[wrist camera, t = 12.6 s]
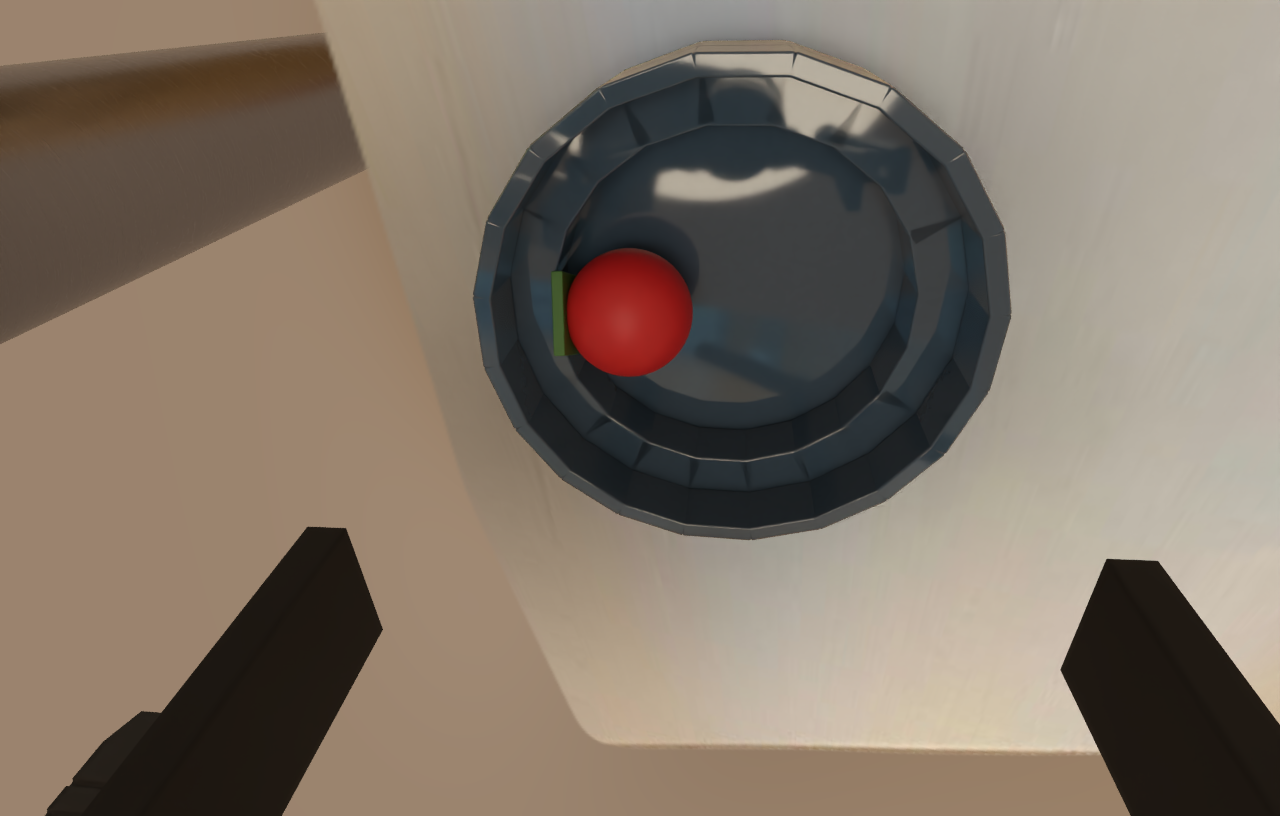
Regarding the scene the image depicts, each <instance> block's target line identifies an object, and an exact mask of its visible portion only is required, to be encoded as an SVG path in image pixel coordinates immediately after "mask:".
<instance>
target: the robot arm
mask: <svg viewBox="0 0 1280 816" xmlns="http://www.w3.org/2000/svg"><path fill="white" fill-rule="evenodd" d="M382 630H383V629H382V626H381V623H380V620H379V618H378V615H377V612H376V609H375V607H374V604H373V601H372V599H371V596H370V593H369V590H368V588H367V585H366V582H365V580H364V576H363V574H362V571H361V568H360V565H359V563H358V560H357V557H356V554H355V552H354V549H353V546H352V544H351V541H350V538H349V536H348V532H347V530H346V528H326V527H307V528H306V530H305V531H304V532H303V533H302V535H301V536H300V537H299V539H298V540H297V541H296V542H295V543H294V545H293V546H292V547H291V549H290V550H289V551H288V552H287V554H286V555H285V556H284V558H283V559H282V560H281V561H280V563H279V564H278V565H277V566H276V568H275V569H274V570H273V571H272V573H271V574H270V576H269V577H268V578H267V579H266V580H265V582H264V583H263V584H262V585H261V587H260V588H259V589H258V591H257V592H256V593H255V594H254V596H253V597H252V598H251V599H250V601H249V602H248V603H247V605H246V606H245V607H244V608H243V610H242V611H241V612H240V613H239V615H238V616H237V617H236V619H235V620H234V621H233V622H232V624H231V625H230V626H229V628H228V629H227V630H226V631H225V633H224V634H223V635H222V636H221V638H220V639H219V640H218V641H217V643H216V644H215V645H214V647H213V648H212V649H211V650H210V652H209V653H208V654H207V656H206V657H205V658H204V659H203V661H202V662H201V663H200V664H199V666H198V667H197V668H196V669H195V671H194V672H193V673H192V674H191V676H190V677H189V678H188V680H187V681H186V682H185V683H184V685H183V686H182V687H181V688H180V690H179V691H178V692H177V694H176V695H175V696H174V697H173V699H172V700H171V701H170V702H169V704H168V705H167V706H166V708H165V709H164V710H163V711H162V713H157V712H144V711H141V712H140V713H139V714H137V715H136V716H135V717H134V718H132V719H131V720H130V721H129V722H127V723H126V724H125V725H124V726H122V727H121V728H120V729H119V730H117V731H116V732H115V733H114V734H112V735H111V736H110V737H109V738H107V739H106V740H105V741H104V742H103V743H102V744H101V745H100V746H99V747H98V749H97V750H96V751H95V752H94V753H93V755H92V756H91V757H90V758H89V759H88V761H87V762H86V763H85V764H84V765H83V767H82V768H81V769H80V770H79V771H78V773H77V774H76V775H75V776H74V777H73V782H72V784H71V785H70V786H66V787H65V788H64V789H63V791H62V792H61V793H60V794H59V795H58V797H57V798H56V799H55V800H54V801H53V803H52V804H51V805H50V806H49V807H48V809H47V814H46V815H45V816H282V814H283V812H284V811H285V809H286V807H287V805H288V803H289V801H290V800H291V798H292V795H293V794H294V792H295V790H296V789H297V787H298V785H299V783H300V781H301V779H302V777H303V776H304V774H305V772H306V770H307V768H308V766H309V764H310V763H311V761H312V759H313V757H314V755H315V754H316V752H317V750H318V748H319V746H320V744H321V742H322V740H323V739H324V737H325V735H326V733H327V731H328V730H329V727H330V726H331V724H332V722H333V720H334V719H335V716H336V715H337V713H338V711H339V709H340V707H341V706H342V704H343V702H344V700H345V698H346V696H347V695H348V693H349V690H350V689H351V687H352V685H353V684H354V682H355V680H356V678H357V676H358V674H359V672H360V671H361V669H362V667H363V665H364V663H365V661H366V659H367V658H368V656H369V654H370V652H371V650H372V648H373V647H374V645H375V643H376V641H377V639H378V637H379V636H380V634H381V632H382ZM1061 672H1062V674H1063V676H1064V678H1065V680H1066V682H1067V684H1068V687H1069V689H1070V691H1071V693H1072V695H1073V697H1074V699H1075V701H1076V703H1077V705H1078V707H1079V709H1080V711H1081V714H1082V716H1083V718H1084V720H1085V722H1086V724H1087V726H1088V728H1089V730H1090V732H1091V734H1092V736H1093V738H1094V741H1095V743H1096V745H1097V747H1098V749H1099V751H1100V753H1101V755H1102V757H1103V759H1104V761H1105V763H1106V765H1107V767H1108V770H1109V771H1110V774H1111V776H1112V778H1113V780H1114V782H1115V784H1116V786H1117V788H1118V790H1119V792H1120V794H1121V797H1122V798H1123V801H1124V802H1125V805H1126V807H1127V809H1128V811H1129V813H1130V815H1131V816H1280V724H1279V723H1278V722H1277V720H1276V719H1275V718H1274V716H1273V715H1272V714H1271V712H1270V711H1269V710H1268V708H1267V707H1266V706H1265V704H1264V703H1263V702H1262V700H1261V699H1260V698H1259V696H1258V695H1257V694H1256V692H1255V691H1254V690H1253V688H1252V687H1251V685H1250V684H1249V683H1248V681H1247V680H1246V679H1245V677H1244V676H1243V675H1242V673H1241V672H1240V671H1239V669H1238V668H1237V667H1236V665H1235V664H1234V663H1233V661H1232V660H1231V659H1230V657H1229V656H1228V655H1227V653H1226V652H1225V651H1224V649H1223V648H1222V646H1221V645H1220V644H1219V642H1218V641H1217V640H1216V638H1215V637H1214V636H1213V634H1212V633H1211V632H1210V630H1209V629H1208V628H1207V626H1206V625H1205V624H1204V622H1203V621H1202V620H1201V618H1200V617H1199V616H1198V614H1197V613H1196V612H1195V610H1194V609H1193V607H1192V606H1191V605H1190V603H1189V602H1188V601H1187V599H1186V598H1185V597H1184V595H1183V594H1182V593H1181V591H1180V590H1179V589H1178V587H1177V586H1176V585H1175V583H1174V582H1173V581H1172V579H1171V578H1170V577H1169V575H1168V574H1167V573H1166V571H1165V570H1164V568H1163V567H1162V566H1161V564H1160V563H1159V562H1158V561H1145V560H1121V559H1106V562H1105V564H1104V566H1103V569H1102V571H1101V574H1100V576H1099V578H1098V581H1097V583H1096V586H1095V588H1094V590H1093V593H1092V595H1091V598H1090V600H1089V602H1088V605H1087V607H1086V610H1085V612H1084V614H1083V617H1082V619H1081V622H1080V624H1079V626H1078V629H1077V631H1076V634H1075V636H1074V638H1073V641H1072V643H1071V646H1070V648H1069V650H1068V653H1067V655H1066V658H1065V660H1064V662H1063V665H1062V667H1061Z"/></svg>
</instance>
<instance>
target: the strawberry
mask: <svg viewBox="0 0 1280 816" xmlns="http://www.w3.org/2000/svg"><path fill="white" fill-rule="evenodd" d="M551 289H552V318H553V347H554V356H568V355H575V354H581V355H582V356H583V357H584V358H585V359H586V360H587V361H588V362H589V363H590V364H592V365H593V366H595V367H596V368H598V369H600V370H602V371H604V372H606V373H609V374H612V375H617V376H626V377H633V376H641V375H646V374H649V373H652V372H654V371H656V370H658V369H660V368H662V367H664V366H665V365H666V364H668V363H669V362H670V361H671V360H672V359H673V358H675V357H676V355H677V354H678V353H679V352H680V351H681V349H682V347H683V346H684V344H685V342H686V340H687V338H688V336H689V333H690V330H691V325H692V319H693V306H692V300H691V295H690V292H689V289H688V287H687V285H686V283H685V281H684V279H683V278H682V276H681V275H680V273H679V272H678V271H677V270H676V268H675V267H674V266H673V265H672V264H670V263H669V262H668V261H667V260H665V259H664V258H662V257H661V256H659V255H657V254H654V253H652V252H649V251H646V250H643V249H637V248H621V249H615V250H611V251H608V252H606V253H603V254H601V255H599V256H597V257H596V258H594V259H592V260H591V261H590V262H589V263H587V264H586V265H585V266H584V267H583V268H582V269H581V270H580V272H579V273H578V274H577V276H576V275H573V274H570V273H567V272H563V271H552V272H551Z"/></svg>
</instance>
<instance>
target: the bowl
mask: <svg viewBox="0 0 1280 816" xmlns="http://www.w3.org/2000/svg"><path fill="white" fill-rule="evenodd" d="M621 248H637V249H643V250H646V251H649V252H652V253H654V254H657V255H659V256H661V257H662V258H664V259H665V260H667V261H668V262H669V263H670V264H672V265H673V266H674V267H675V268H676V270H677V271H678V272H679V273H680V275H681V276H682V278H683V279H684V281H685V283H686V285H687V287H688V289H689V292H690V295H691V300H692V306H693V319H692V325H691V330H690V333H689V336H688V338H687V340H686V342H685V344H684V346H683V347H682V349H681V351H680V352H679V353H678V354H677V355H676V357H675V358H673V359H672V360H671V361H670V362H669V363H668V364H666V365H665V366H664V367H662V368H660V369H658V370H656V371H654V372H652V373H649V374H646V375H641V376H633V377H626V376H617V375H612V374H609V373H606V372H604V371H602V370H600V369H598V368H596V367H595V366H593V365H592V364H590V363H589V362H588V361H587V360H586V359H585V358H584V357H583V356H582V355H581V354H575V355H568V356H554V347H553V318H552V289H551V272H552V271H563V272H567V273H570V274H573V275H576V276H577V274H578V273H579V272H580V270H581V269H582V268H583V267H584V266H585V265H586V264H587V263H589V262H590V261H591V260H592V259H594V258H596V257H597V256H599V255H601V254H603V253H606V252H608V251H611V250H615V249H621ZM473 295H474V296H473V300H474V306H475V313H476V319H477V326H478V332H479V339H480V345H481V352H482V358H483V365H484V367H485V371H486V373H487V375H488V377H489V379H490V381H491V383H492V385H493V387H494V389H495V391H496V393H497V395H498V397H499V399H500V401H501V403H502V405H503V407H504V409H505V411H506V413H507V415H508V417H509V419H510V421H511V423H512V425H513V427H514V428H515V429H516V431H517V432H518V433H519V434H520V435H521V436H522V438H523V439H524V440H525V441H526V442H527V443H528V444H529V445H530V446H531V447H532V448H533V449H534V450H535V452H536V453H537V454H538V455H539V456H540V457H541V458H542V459H543V460H544V461H545V462H546V463H547V464H548V465H549V467H550V468H551V469H552V470H553V471H554V472H555V473H556V474H557V475H558V476H559V477H560V478H562V480H563V481H565V482H567V483H568V484H570V485H572V486H573V487H575V488H576V489H578V490H580V491H581V492H583V493H584V494H586V495H588V496H589V497H591V498H592V499H594V500H596V501H597V502H599V503H600V504H602V505H604V506H605V507H607V508H608V509H610V510H612V511H613V512H615V513H616V514H618V513H619V515H621V516H624V517H627V518H631V519H634V520H637V521H640V522H643V523H646V524H649V525H652V526H655V527H658V528H662V529H665V530H668V531H671V532H674V533H677V534H680V535H682V534H683V535H687V536H700V537H714V538H727V539H740V540H751V539H752V540H756V539H762V538H768V537H775V536H781V535H787V534H793V533H799V532H805V531H811V530H818V529H822V528H825V527H827V526H829V525H832V524H834V523H836V522H839V521H841V520H843V519H846V518H848V517H850V516H853V515H855V514H857V513H860V512H862V511H864V510H867V509H869V508H871V507H874V506H876V505H878V504H881V503H883V502H885V501H886V500H888V499H889V498H891V497H892V496H893V495H894V494H896V493H897V492H898V491H899V490H901V489H902V488H903V487H905V486H906V485H907V484H908V483H910V482H911V481H912V480H913V479H915V478H916V477H917V476H918V475H920V474H921V473H922V472H924V471H925V470H926V469H927V468H929V467H930V466H931V465H932V464H934V463H935V462H936V461H937V460H939V459H940V458H941V457H943V456H944V454H945V453H946V452H947V451H948V450H949V448H950V447H951V445H952V444H953V442H954V441H955V440H956V438H957V437H958V435H959V434H960V432H961V431H962V430H963V428H964V427H965V425H966V424H967V422H968V421H969V420H970V418H971V417H972V415H973V414H974V412H975V411H976V410H977V408H978V407H979V405H980V404H981V402H982V401H983V400H984V398H985V397H986V395H987V394H988V391H989V390H990V387H991V384H992V381H993V377H994V374H995V370H996V367H997V363H998V360H999V357H1000V353H1001V350H1002V346H1003V343H1004V339H1005V336H1006V333H1007V329H1008V326H1009V322H1010V319H1011V299H1010V286H1009V273H1008V261H1007V248H1006V235H1005V231H1004V227H1003V225H1002V223H1001V221H1000V219H999V217H998V215H997V213H996V211H995V209H994V207H993V205H992V203H991V201H990V199H989V197H988V195H987V193H986V191H985V189H984V187H983V185H982V183H981V181H980V179H979V177H978V175H977V173H976V171H975V169H974V167H973V165H972V163H971V161H970V159H969V157H968V155H967V153H966V151H964V150H963V147H961V146H960V145H959V144H958V143H957V142H956V141H955V140H954V139H952V138H951V137H950V136H949V135H948V134H947V133H946V132H944V131H943V130H942V129H941V128H940V127H939V126H938V125H936V124H935V123H934V122H933V121H932V120H931V119H930V118H928V117H927V116H926V115H925V114H924V113H923V112H922V111H921V110H919V109H918V108H917V107H916V106H915V105H914V104H913V103H911V102H910V101H909V100H908V99H907V98H906V97H905V96H903V95H902V94H901V93H900V92H899V91H898V90H897V89H896V88H894V87H893V86H891V85H890V84H888V83H887V82H885V81H884V80H882V79H880V78H879V77H877V76H876V75H874V74H873V73H871V72H870V71H868V70H866V69H865V68H862V67H860V66H857V65H854V64H851V63H849V62H846V61H843V60H840V59H838V58H835V57H832V56H829V55H827V54H824V53H821V52H818V51H816V50H813V49H810V48H807V47H805V46H802V45H799V44H796V43H794V42H791V41H786V40H737V41H702V42H697V43H695V44H692V45H689V46H686V47H684V48H681V49H678V50H676V51H673V52H670V53H668V54H665V55H662V56H660V57H657V58H654V59H652V60H649V61H646V62H644V63H641V64H638V65H636V66H633V67H630V68H628V69H625V70H624V71H622V72H620V73H619V74H618V75H616V76H615V77H613V78H612V79H610V80H609V81H607V82H606V83H604V84H603V85H601V86H600V87H598V88H597V89H596V90H595V91H593V92H592V93H591V94H590V95H589V96H587V97H586V98H585V99H584V100H583V101H582V102H580V103H579V104H578V105H577V106H576V107H574V108H573V109H572V110H571V111H570V112H569V113H567V114H566V115H565V116H564V117H563V118H561V119H560V120H559V121H558V122H557V123H555V124H554V125H553V126H552V127H551V128H550V129H548V130H547V131H546V132H545V133H544V134H542V135H541V136H540V137H539V138H538V139H537V140H535V141H534V142H533V143H532V144H531V145H530V147H529V148H527V150H526V152H525V153H524V155H523V157H522V159H521V160H520V162H519V164H518V166H517V167H516V169H515V171H514V173H513V174H512V176H511V178H510V180H509V181H508V183H507V185H506V186H505V188H504V190H503V192H502V193H501V195H500V197H499V199H498V200H497V202H496V204H495V206H494V207H493V209H492V211H491V212H490V214H489V216H488V220H487V221H486V225H485V231H484V236H483V242H482V247H481V253H480V258H479V264H478V269H477V275H476V280H475V286H474V292H473Z"/></svg>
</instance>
